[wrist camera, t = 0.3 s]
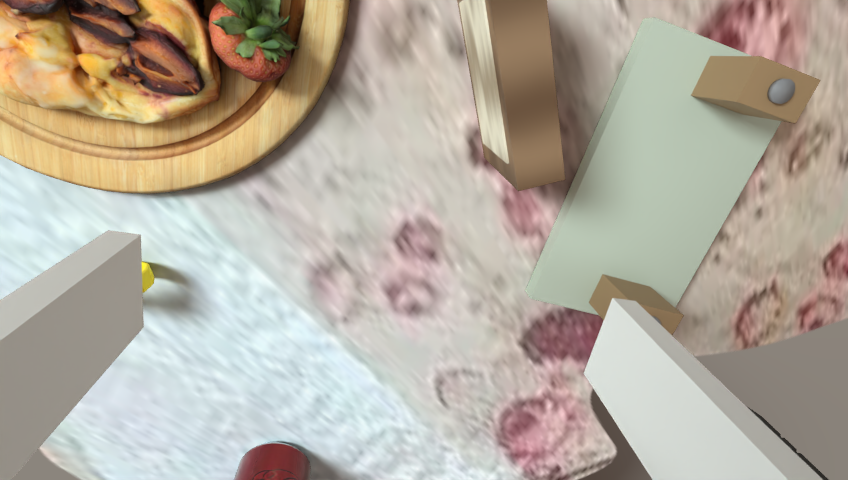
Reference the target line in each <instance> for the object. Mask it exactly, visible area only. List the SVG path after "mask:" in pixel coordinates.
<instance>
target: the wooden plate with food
mask: <svg viewBox="0 0 848 480" xmlns="http://www.w3.org/2000/svg"><path fill="white" fill-rule="evenodd" d="M349 4H350V0H0V155H2V156H4V157H6V158H8V159H10V160H12V161H14V162H16V163H18V164H20V165H22V166H24V167H26V168H28V169H31V170H34V171H36V172H39V173H42V174H44V175H47V176H50V177H53V178H56V179H59V180H63V181H66V182H69V183H73V184H76V185H80V186H84V187H88V188H93V189H99V190H105V191H112V192H122V193H144V194H151V193H163V192H174V191H180V190H185V189H191V188H196V187H201V186H204V185H207V184H210V183H214V182H217V181H220V180H223V179H226V178H229V177H231V176H233V175H236V174H238V173H240V172H241V171H243V170H245V169H247V168H249V167H251V166H252V165H254V164H256V163H257V162H259V161H260V160H262V159H263V158H264V157H266V156H267V155H269V154H270V153H271V152H273V151H274V150H275V149H276V148H277V147H279V146H280V145H281V144H282V143H283V142H284V141H285V140H286V139H287V138H288V137H289V136H290V135H291V134H292V133H293V132H294V131H295V130H296V129H297V128H298V127H299V126H300V124H301V123H302V122H303V121H304V119H305V118H306V117H307V116H308V115H309V113H310V112H311V111H312V109H313V108H314V106H315V105H316V103H317V101H318V100H319V98H320V96H321V94H322V92H323V90H324V88H325V86H326V84H327V83H328V80H329V78H330V75H331V73H332V71H333V68H334V66H335V64H336V60H337V57H338V54H339V51H340V47H341V44H342V41H343V38H344V34H345V29H346V25H347V19H348V12H349Z"/></svg>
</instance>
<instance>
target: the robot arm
mask: <svg viewBox="0 0 848 480" xmlns="http://www.w3.org/2000/svg"><path fill="white" fill-rule="evenodd" d="M143 327H144V324H143V292H142V259H141V235H139V234H131V233H124V232H116V231H109V230H108V231H106V232H105V233H103V234H102V235H100V236H99V237H97V238H96V239H94V240H93V241H91V242H89V243H88V244H86V245H85V246H83V247H82V248H80V249H79V250H77V251H76V252H74V253H72V254H71V255H69V256H68V257H66V258H65V259H63V260H62V261H60V262H59V263H57V264H55V265H54V266H52V267H51V268H49V269H48V270H46V271H45V272H43V273H41V274H40V275H38V276H37V277H35V278H34V279H32V280H31V281H29V282H28V283H26V284H24V285H23V286H21V287H20V288H18V289H17V290H15V291H14V292H12V293H11V294H9V295H7V296H6V297H4V298H3V299H1V300H0V480H12V478H13V477H14V476H15V475H16V474H17V473H18V472H19V470H20V469H21V468H22V467H23V466H24V465H25V463H26V462H27V461H28V460H29V459H30V458H31V456H32V455H33V454H34V453H35V452H36V451H37V450H38V448H39V447H40V446H41V445H42V444H43V443H44V441H45V440H46V439H47V438H48V437H49V436H50V435H51V433H52V432H53V431H54V430H55V429H56V428H57V426H58V425H59V424H60V423H61V422H62V421H63V420H64V418H65V417H66V416H67V415H68V414H69V413H70V411H71V410H72V409H73V408H74V407H75V406H76V405H77V403H78V402H79V401H80V400H81V399H82V398H83V396H84V395H85V394H86V393H87V392H88V391H89V389H90V388H91V387H92V386H93V385H94V384H95V383H96V381H97V380H98V379H99V378H100V377H101V376H102V374H103V373H104V372H105V371H106V370H107V369H108V368H109V366H110V365H111V364H112V363H113V362H114V361H115V359H116V358H117V357H118V356H119V355H120V354H121V353H122V351H123V350H124V349H125V348H126V347H127V346H128V344H129V343H130V342H131V341H132V340H133V339H134V337H135V336H136V335H137V334H138V333H139V332H140V331H141V329H142V328H143ZM584 374H585V376H586V377H587V379H588V380H589V382H590V384H591V385H592V387H593V388H594V390H595V391H596V393H597V394H598V396H599V397H600V399H601V401H602V402H603V404H604V405H605V407H606V408H607V410H608V411H609V413H610V414H611V416H612V418H613V419H614V421H615V422H616V424H617V425H618V427H619V428H620V430H621V432H622V433H623V435H624V436H625V438H626V439H627V441H628V442H629V444H630V445H631V447H632V449H633V450H634V452H635V453H636V455H637V456H638V458H639V459H640V461H641V462H642V464H643V465H644V467H645V469H646V470H647V472H648V473H649V475H650V476H651V478H652V479H653V480H828V479H827V478H826V477H825V476H824V475H823V474H822V473H821V472H820V471H819V470H818V469H817V468H816V467H815V466H814V465H812V464H811V463H810V462H809V461H808V460H807V459H806V458H805V457H804V456H803V455H802V454H800V453H797V452H796V449H795V448H794V447H793V446H792V445H791V444H790V443H789V442H788V441H787V440H786V439H785V438H781V436H780V433H779V432H777V431H776V430H775V429H774V428H773V427H772V426H771V425H770V424H769V423H768V422H767V421H766V420H765V419H764V418H763V417H762V416H760V415H759V414H757V413H756V412H754V411H753V410H751V409H750V408H748V407H747V406H745V405H744V404H743V403H742V402H741V401H740V400H739V399H738V398H737V397H736V396H735V395H734V394H732V392H731V391H730V390H728V389H727V388H726V387H725V386H724V385H723V384H722V383H721V382H720V381H719V380H718V379H717V378H716V377H715V376H714V375H713V374H712V373H711V372H710V371H709V370H708V369H706V368H705V367H704V366H703V365H702V364H701V363H700V362H699V361H698V360H697V359H696V358H695V357H694V356H693V355H692V354H691V353H690V352H689V351H688V350H687V349H686V348H684V347H683V346H682V345H681V344H680V343H679V342H678V341H677V340H676V339H675V338H674V337H673V336H672V335H671V334H670V333H669V332H668V331H667V330H666V329H665V328H663V327H662V326H661V325H660V324H659V323H658V322H657V321H656V320H655V319H654V318H653V317H652V316H651V315H650V314H649V313H648V312H647V311H646V310H645V309H644V308H643V307H641V306H640V305H639V304H638V303H637V302H636V301H632V300H625V299H617V298H612V300H611V303H610V306H609V308H608V311H607V313H606V316H605V319H604V321H603V324H602V327H601V329H600V332H599V334H598V337H597V340H596V342H595V345H594V348H593V350H592V353H591V356H590V358H589V361H588V363H587V366H586V369H585V371H584Z"/></svg>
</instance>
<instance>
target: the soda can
mask: <svg viewBox="0 0 848 480" xmlns="http://www.w3.org/2000/svg"><path fill="white" fill-rule="evenodd" d="M310 475H311V466H310V462H309V460H308V458H307V457H306V456H305V454H304V453H303V452H302V451H301V450H299V449H298V448H296V447H294V446H292V445H290V444H287V443H282V442H269V443H264V444H261V445H258V446H256V447H254V448H252V449H251V450H249V451H248V452H247V453H246V454H245V455H244V456H243V457H242V459H241V461H240V463H239V466H238V469H237V472H236V475H235V478H234V480H310Z"/></svg>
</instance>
